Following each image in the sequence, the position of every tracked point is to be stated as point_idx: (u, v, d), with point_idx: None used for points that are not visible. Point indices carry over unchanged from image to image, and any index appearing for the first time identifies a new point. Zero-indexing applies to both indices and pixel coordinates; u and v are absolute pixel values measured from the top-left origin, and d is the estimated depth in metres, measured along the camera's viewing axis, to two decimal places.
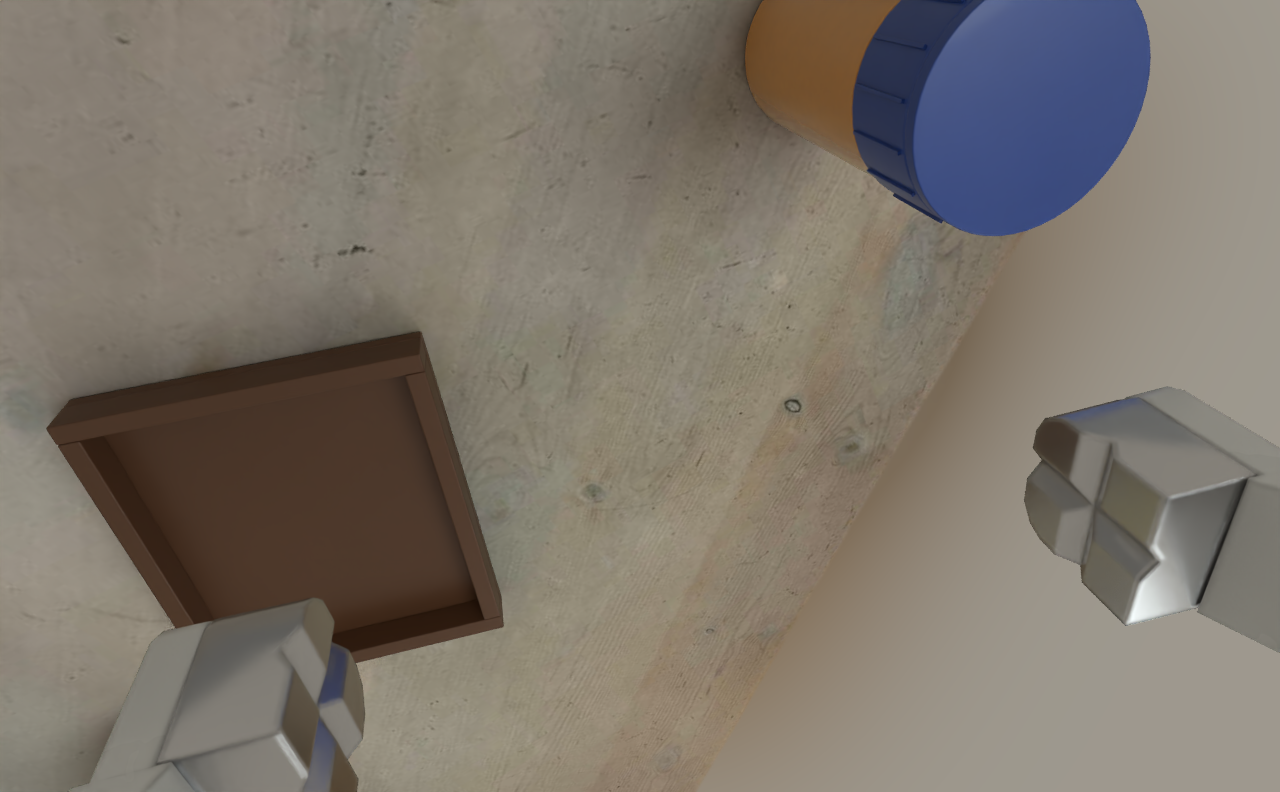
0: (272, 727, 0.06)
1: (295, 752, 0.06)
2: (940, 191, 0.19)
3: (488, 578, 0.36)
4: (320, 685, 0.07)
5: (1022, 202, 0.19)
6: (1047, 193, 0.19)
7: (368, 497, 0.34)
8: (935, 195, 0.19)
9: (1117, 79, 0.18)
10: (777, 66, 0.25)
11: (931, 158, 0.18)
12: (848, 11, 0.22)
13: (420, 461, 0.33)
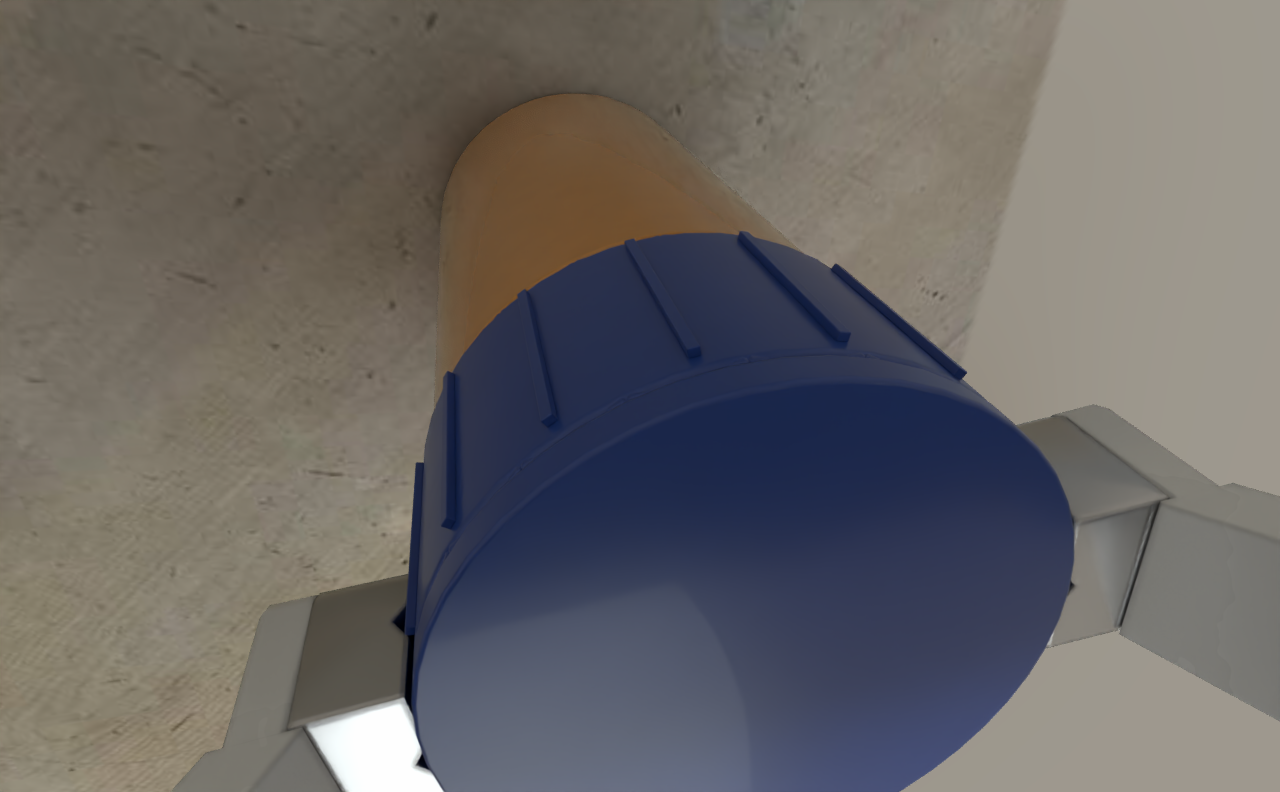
0: (398, 694, 0.06)
1: None
2: (476, 769, 0.07)
3: None
4: None
5: None
6: None
7: None
8: (459, 774, 0.07)
9: (967, 666, 0.08)
10: (449, 225, 0.13)
11: (467, 701, 0.06)
12: (548, 206, 0.10)
13: None
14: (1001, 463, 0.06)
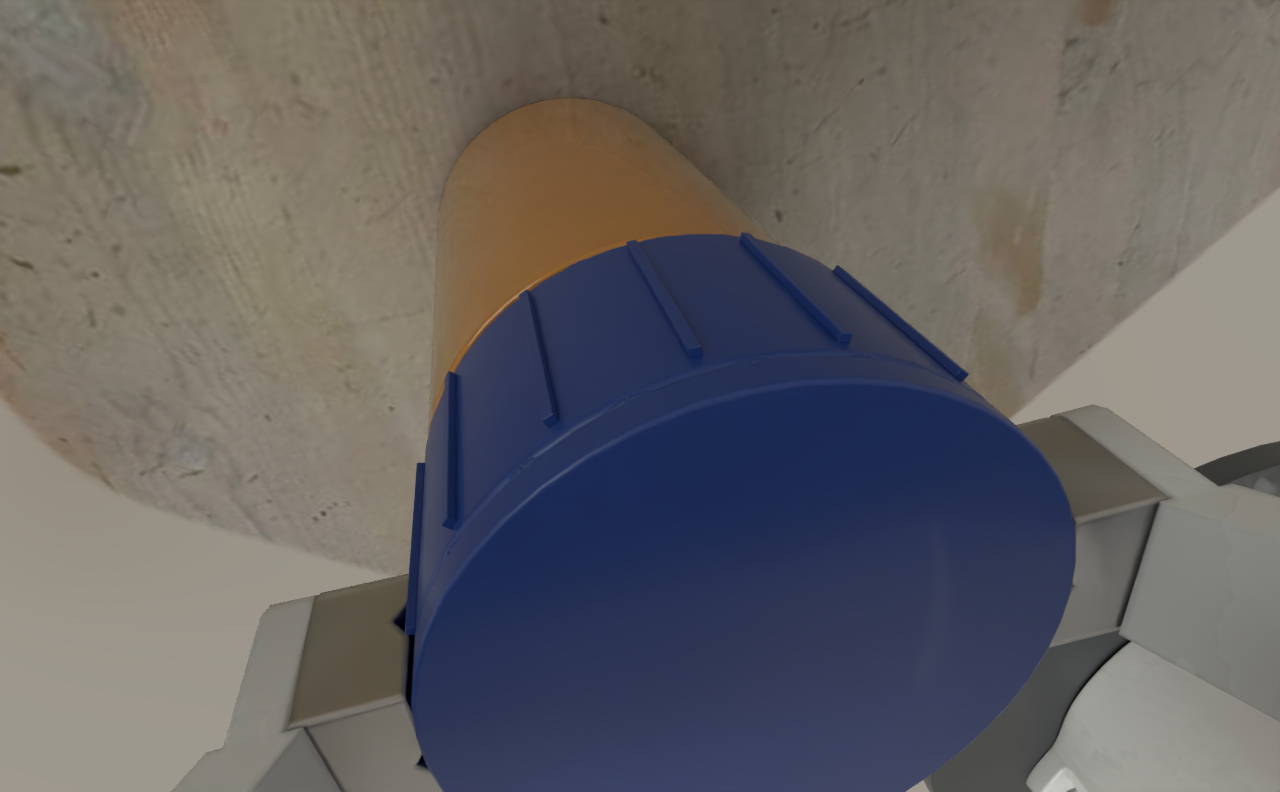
0: (398, 693, 0.06)
1: None
2: (475, 770, 0.07)
3: None
4: None
5: None
6: None
7: None
8: (459, 775, 0.07)
9: (968, 668, 0.08)
10: None
11: (467, 701, 0.06)
12: None
13: None
14: (1003, 465, 0.06)
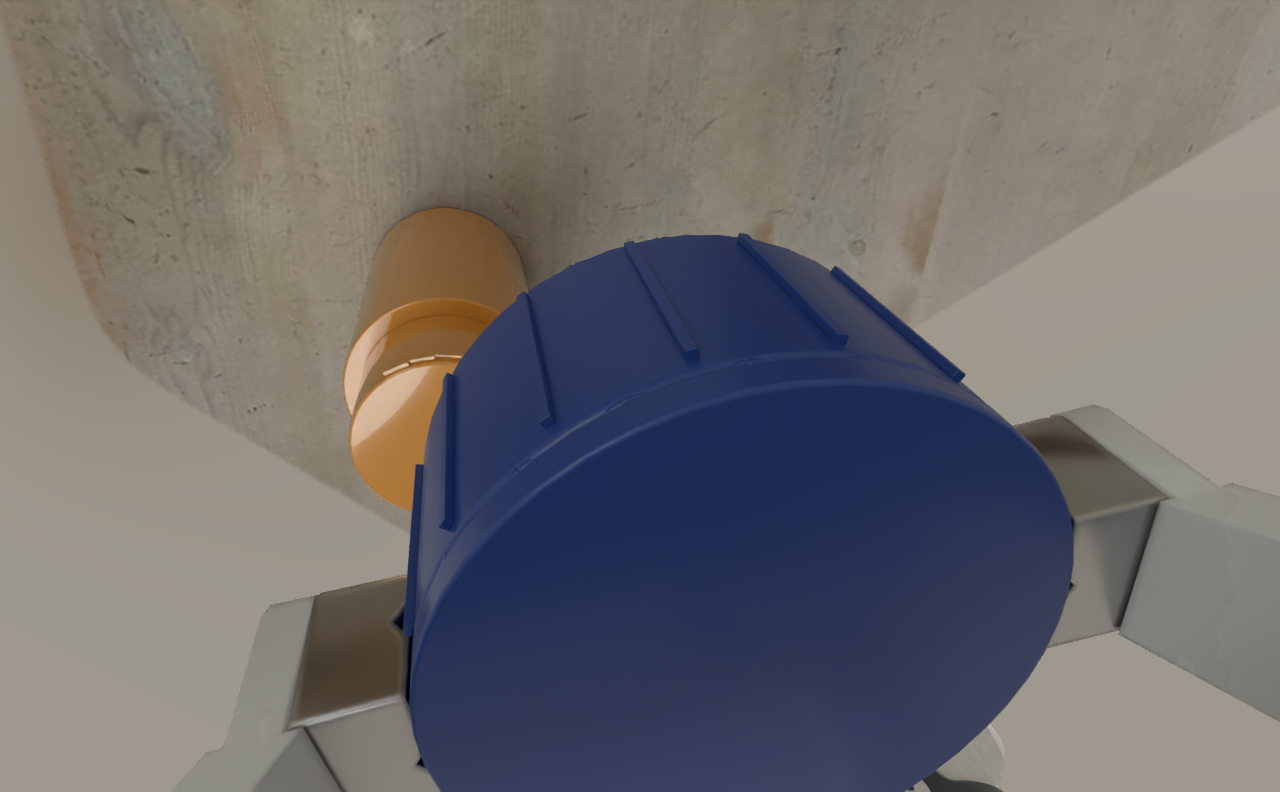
0: (399, 695, 0.06)
1: None
2: (474, 771, 0.07)
3: None
4: None
5: None
6: None
7: None
8: (457, 776, 0.07)
9: (966, 669, 0.08)
10: (526, 286, 0.28)
11: (465, 702, 0.06)
12: None
13: None
14: (1000, 466, 0.06)
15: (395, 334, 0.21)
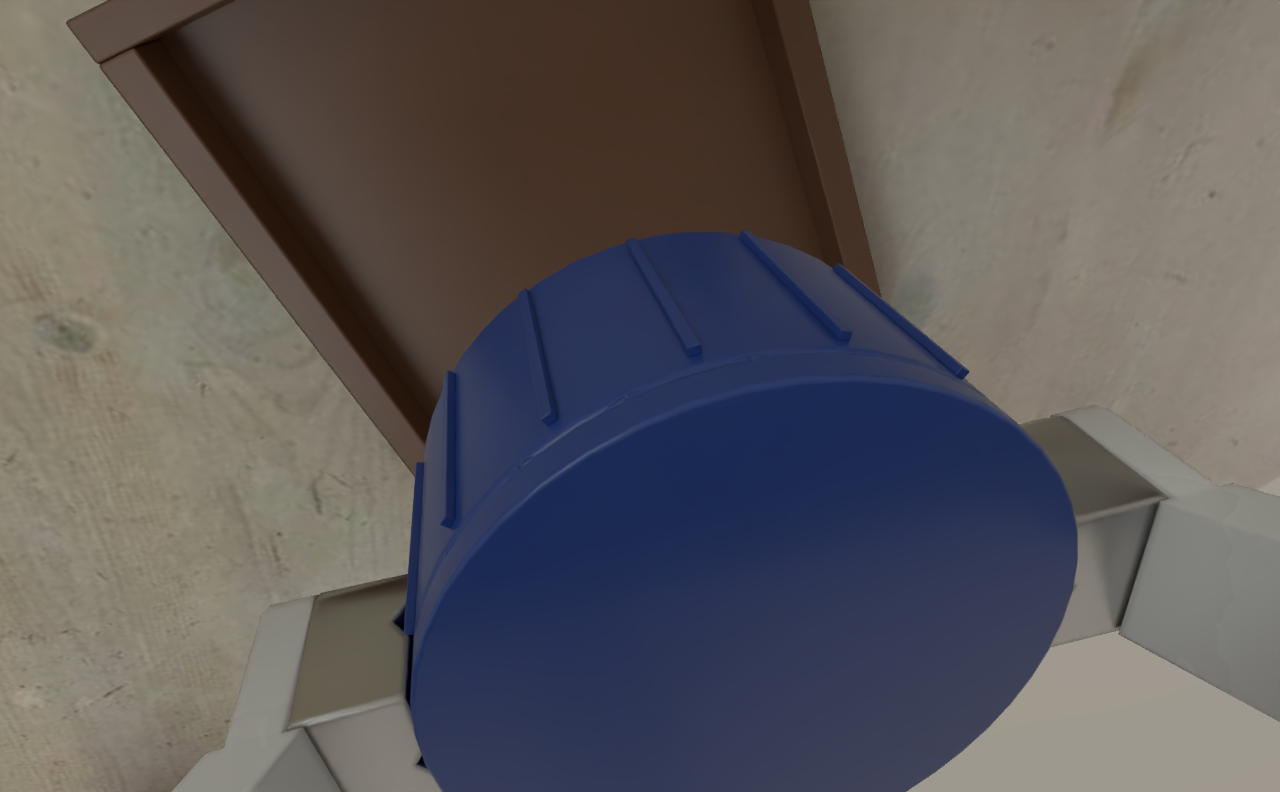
0: (399, 693, 0.06)
1: None
2: (475, 770, 0.07)
3: (192, 186, 0.16)
4: None
5: None
6: None
7: (487, 275, 0.20)
8: (458, 775, 0.07)
9: (969, 667, 0.07)
10: None
11: (466, 701, 0.06)
12: None
13: (422, 358, 0.20)
14: (1004, 463, 0.06)
15: None
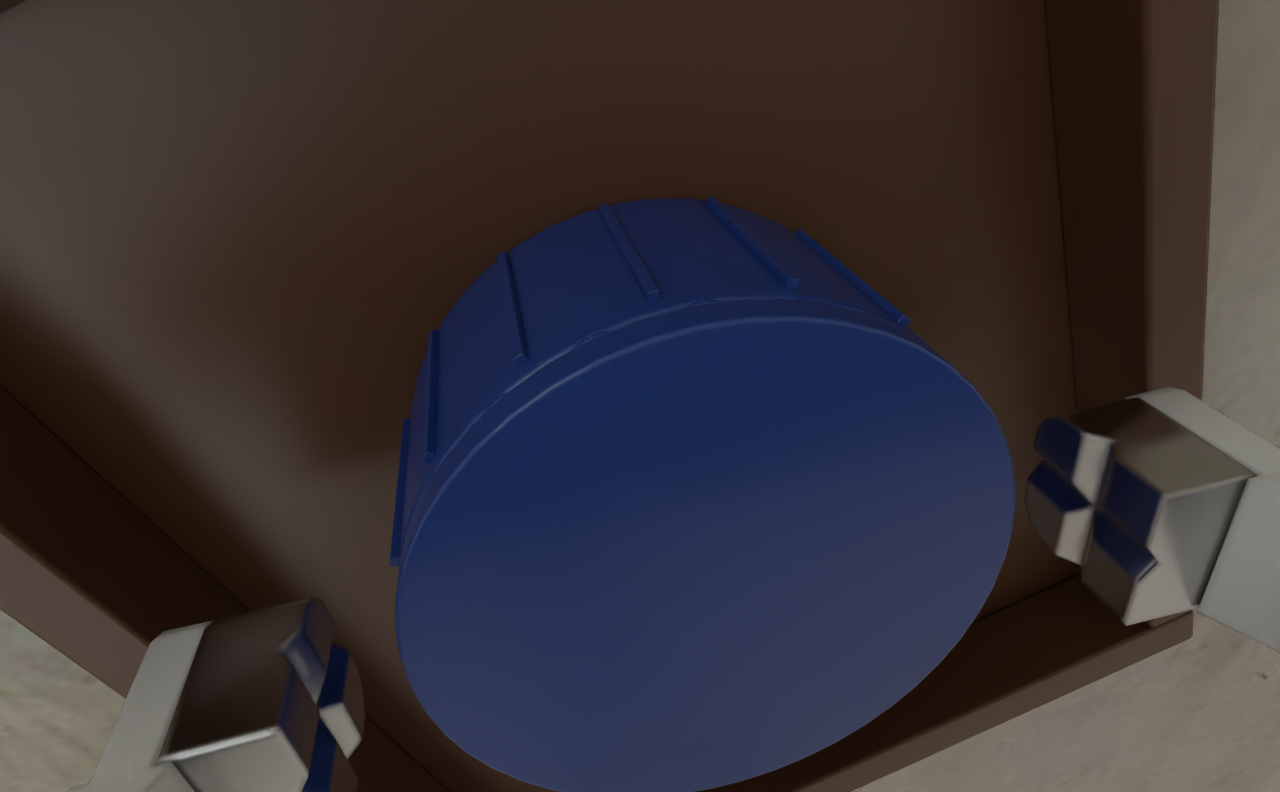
0: (272, 727, 0.06)
1: (295, 752, 0.06)
2: (456, 692, 0.07)
3: None
4: (320, 685, 0.07)
5: (650, 752, 0.08)
6: (708, 749, 0.09)
7: None
8: (441, 697, 0.07)
9: (919, 602, 0.08)
10: None
11: (447, 624, 0.07)
12: None
13: (388, 669, 0.11)
14: (940, 402, 0.07)
15: None
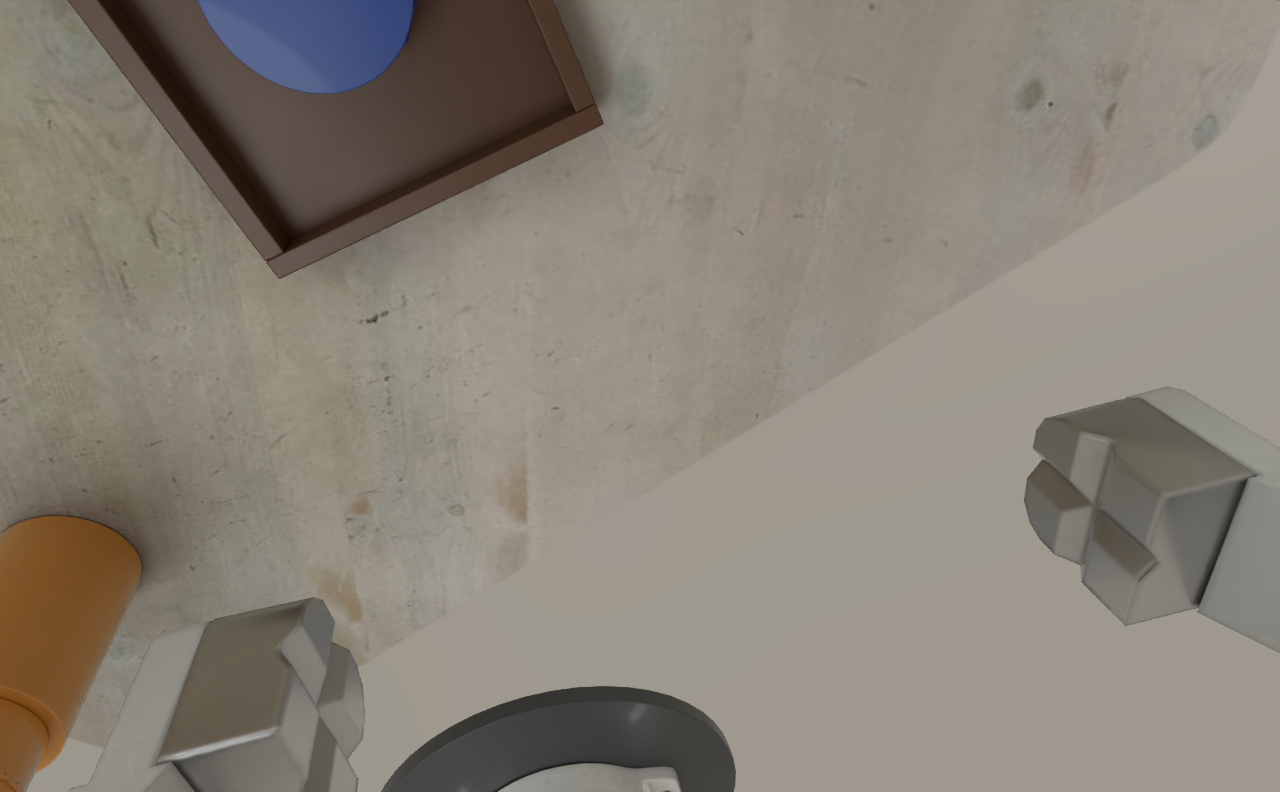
0: (273, 727, 0.06)
1: (295, 752, 0.06)
2: (213, 6, 0.22)
3: None
4: (320, 685, 0.07)
5: (294, 62, 0.23)
6: (318, 66, 0.24)
7: None
8: (208, 7, 0.22)
9: (383, 0, 0.23)
10: (103, 594, 0.33)
11: None
12: (86, 694, 0.31)
13: (220, 103, 0.26)
14: None
15: None
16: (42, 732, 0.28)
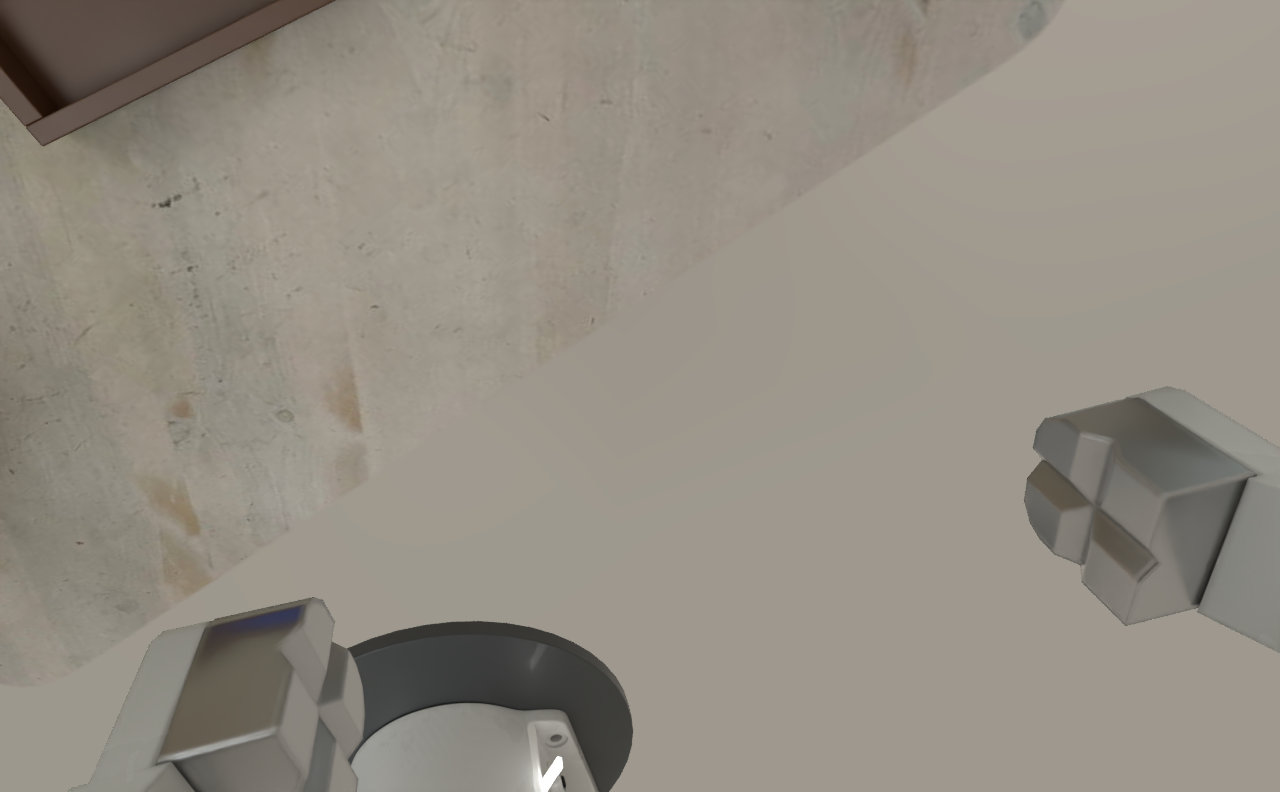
0: (272, 727, 0.06)
1: (295, 752, 0.06)
2: None
3: None
4: (320, 685, 0.07)
5: None
6: None
7: None
8: None
9: None
10: None
11: None
12: None
13: None
14: None
15: None
16: None
